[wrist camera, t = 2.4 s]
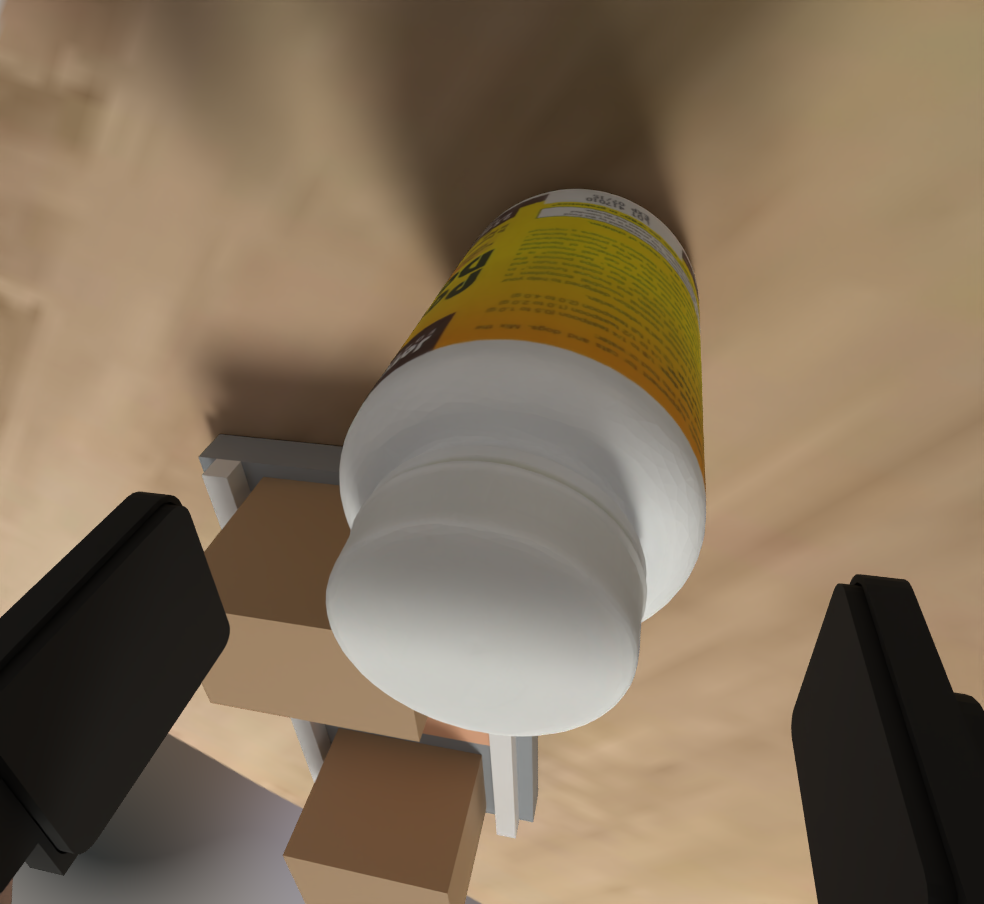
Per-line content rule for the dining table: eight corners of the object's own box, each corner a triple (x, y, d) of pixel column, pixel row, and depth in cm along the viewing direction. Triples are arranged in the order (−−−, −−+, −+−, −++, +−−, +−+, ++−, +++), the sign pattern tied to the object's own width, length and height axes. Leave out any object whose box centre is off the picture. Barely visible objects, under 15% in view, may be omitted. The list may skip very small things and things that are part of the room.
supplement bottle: (509, 137, 15) (298, 377, 7) (747, 243, 15) (823, 602, 7) (436, 349, 18) (238, 675, 10) (629, 433, 18) (587, 819, 10)
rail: (219, 434, 22) (84, 578, 17) (536, 465, 20) (487, 640, 15) (325, 752, 32) (261, 897, 27) (537, 794, 30) (509, 959, 25)
